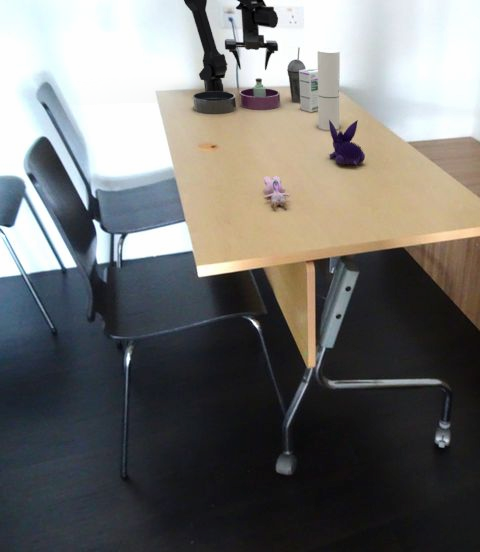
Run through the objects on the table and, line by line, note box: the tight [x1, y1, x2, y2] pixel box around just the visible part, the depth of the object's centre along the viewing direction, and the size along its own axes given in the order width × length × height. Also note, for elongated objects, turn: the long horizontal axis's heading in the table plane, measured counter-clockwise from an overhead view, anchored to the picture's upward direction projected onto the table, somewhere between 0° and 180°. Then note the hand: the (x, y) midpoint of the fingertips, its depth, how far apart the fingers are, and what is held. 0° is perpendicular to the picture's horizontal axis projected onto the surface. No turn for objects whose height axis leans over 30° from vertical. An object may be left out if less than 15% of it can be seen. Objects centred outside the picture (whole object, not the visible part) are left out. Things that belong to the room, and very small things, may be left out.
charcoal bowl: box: [192, 90, 237, 115], centre depth 205 cm, size 15×15×5 cm
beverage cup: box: [286, 46, 307, 104], centre depth 219 cm, size 7×7×20 cm
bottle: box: [252, 77, 266, 97], centre depth 211 cm, size 4×4×10 cm
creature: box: [328, 119, 366, 166], centre depth 165 cm, size 9×18×12 cm, turn 27°
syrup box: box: [299, 67, 318, 113], centre depth 211 cm, size 6×6×14 cm
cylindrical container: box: [317, 48, 341, 131], centre depth 190 cm, size 7×7×25 cm
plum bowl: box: [238, 87, 281, 111], centre depth 213 cm, size 15×15×5 cm
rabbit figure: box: [263, 175, 291, 210], centre depth 140 cm, size 6×6×15 cm
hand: (252, 69), depth 212 cm, fingers open, 9 cm apart
